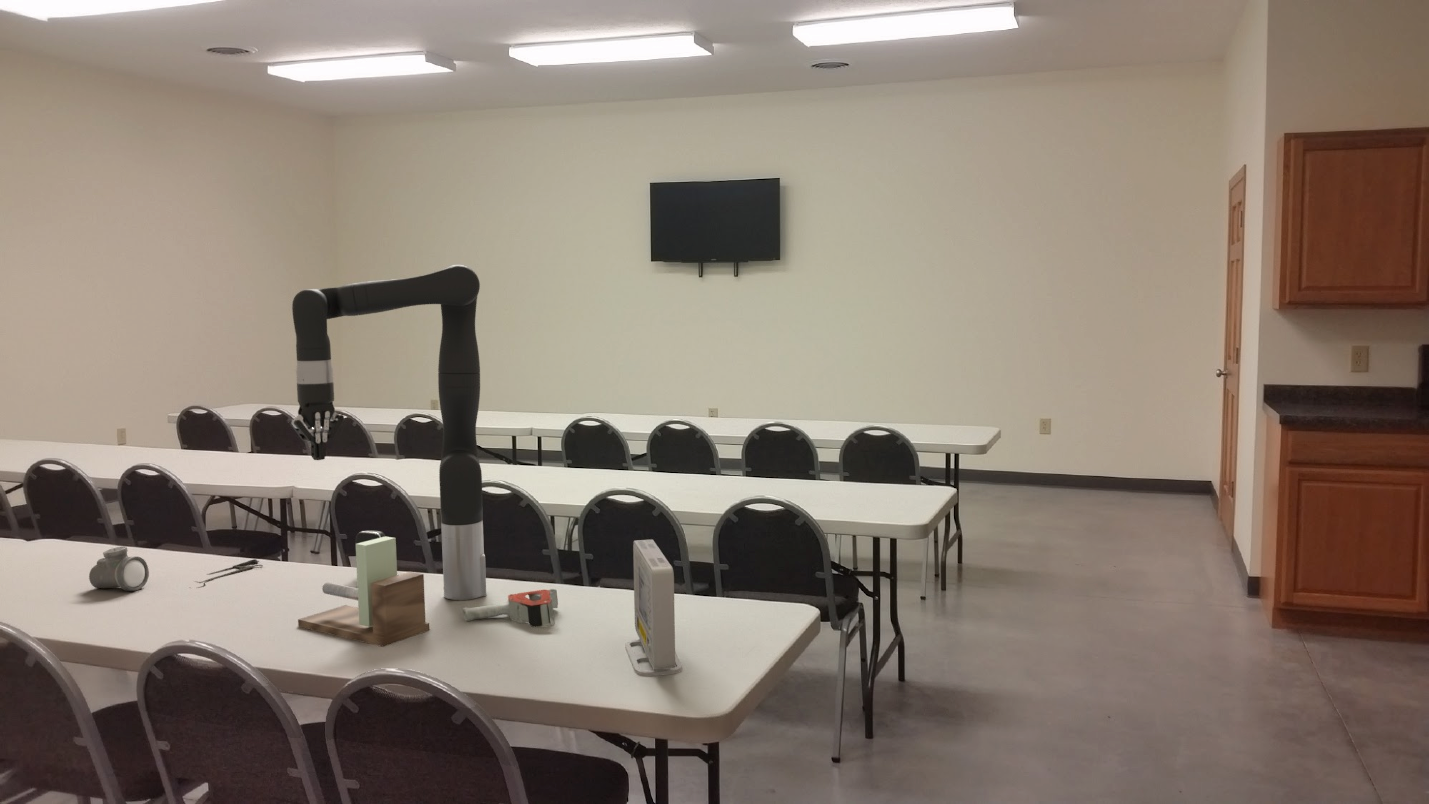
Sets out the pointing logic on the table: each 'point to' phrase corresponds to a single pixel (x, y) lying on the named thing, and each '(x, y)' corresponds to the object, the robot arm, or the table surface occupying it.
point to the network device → (653, 611)
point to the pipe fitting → (119, 571)
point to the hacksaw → (241, 568)
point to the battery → (368, 536)
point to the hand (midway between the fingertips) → (319, 459)
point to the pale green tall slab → (373, 571)
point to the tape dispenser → (521, 608)
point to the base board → (379, 613)
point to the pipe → (340, 590)
